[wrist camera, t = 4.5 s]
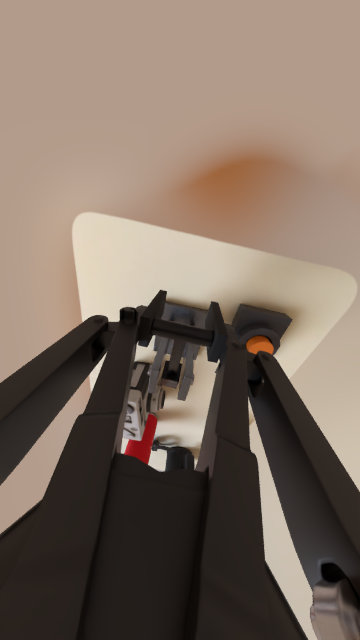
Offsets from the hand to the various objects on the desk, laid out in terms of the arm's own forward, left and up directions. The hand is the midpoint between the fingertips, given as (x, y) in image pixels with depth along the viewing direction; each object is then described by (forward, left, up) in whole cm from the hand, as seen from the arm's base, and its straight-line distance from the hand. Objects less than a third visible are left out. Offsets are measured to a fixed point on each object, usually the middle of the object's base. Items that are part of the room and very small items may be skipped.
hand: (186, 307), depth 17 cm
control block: (-4, +14, -9) cm, 17 cm away
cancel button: (-4, +14, -6) cm, 16 cm away
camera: (+23, +14, -10) cm, 29 cm away
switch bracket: (+7, +6, -9) cm, 13 cm away
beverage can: (+34, +24, -10) cm, 43 cm away
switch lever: (+3, +3, +2) cm, 5 cm away
